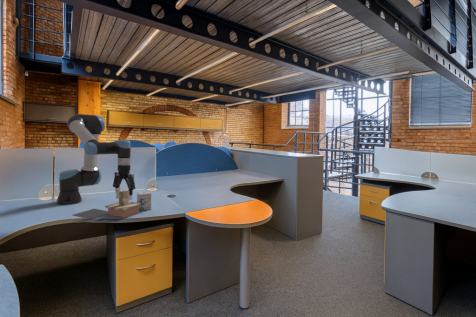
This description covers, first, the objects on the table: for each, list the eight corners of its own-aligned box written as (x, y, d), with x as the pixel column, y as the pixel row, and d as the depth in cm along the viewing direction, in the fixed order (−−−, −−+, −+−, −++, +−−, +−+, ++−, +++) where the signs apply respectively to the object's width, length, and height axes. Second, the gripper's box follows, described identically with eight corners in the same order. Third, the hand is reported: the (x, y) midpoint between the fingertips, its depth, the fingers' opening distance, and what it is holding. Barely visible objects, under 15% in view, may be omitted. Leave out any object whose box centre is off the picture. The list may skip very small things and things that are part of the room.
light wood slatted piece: (105, 207, 161) (105, 191, 160) (123, 202, 175) (123, 187, 174) (123, 211, 155) (123, 194, 154) (141, 205, 169) (141, 190, 168)
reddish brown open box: (108, 215, 162) (108, 207, 161) (124, 210, 174) (124, 202, 173) (123, 218, 157) (123, 210, 157) (139, 212, 169) (139, 205, 169)
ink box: (149, 207, 182) (149, 191, 180) (151, 209, 177) (151, 193, 176) (136, 209, 176) (136, 192, 175) (138, 211, 172) (138, 194, 171)
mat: (71, 216, 157) (71, 215, 157) (94, 209, 172) (94, 208, 172) (89, 220, 152) (89, 219, 151) (112, 213, 166) (112, 212, 166)
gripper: (106, 163, 163) (106, 198, 165) (133, 166, 155) (132, 202, 157) (115, 162, 170) (115, 195, 172) (141, 165, 162) (141, 200, 164)
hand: (123, 199), depth 164 cm, fingers open, 9 cm apart
